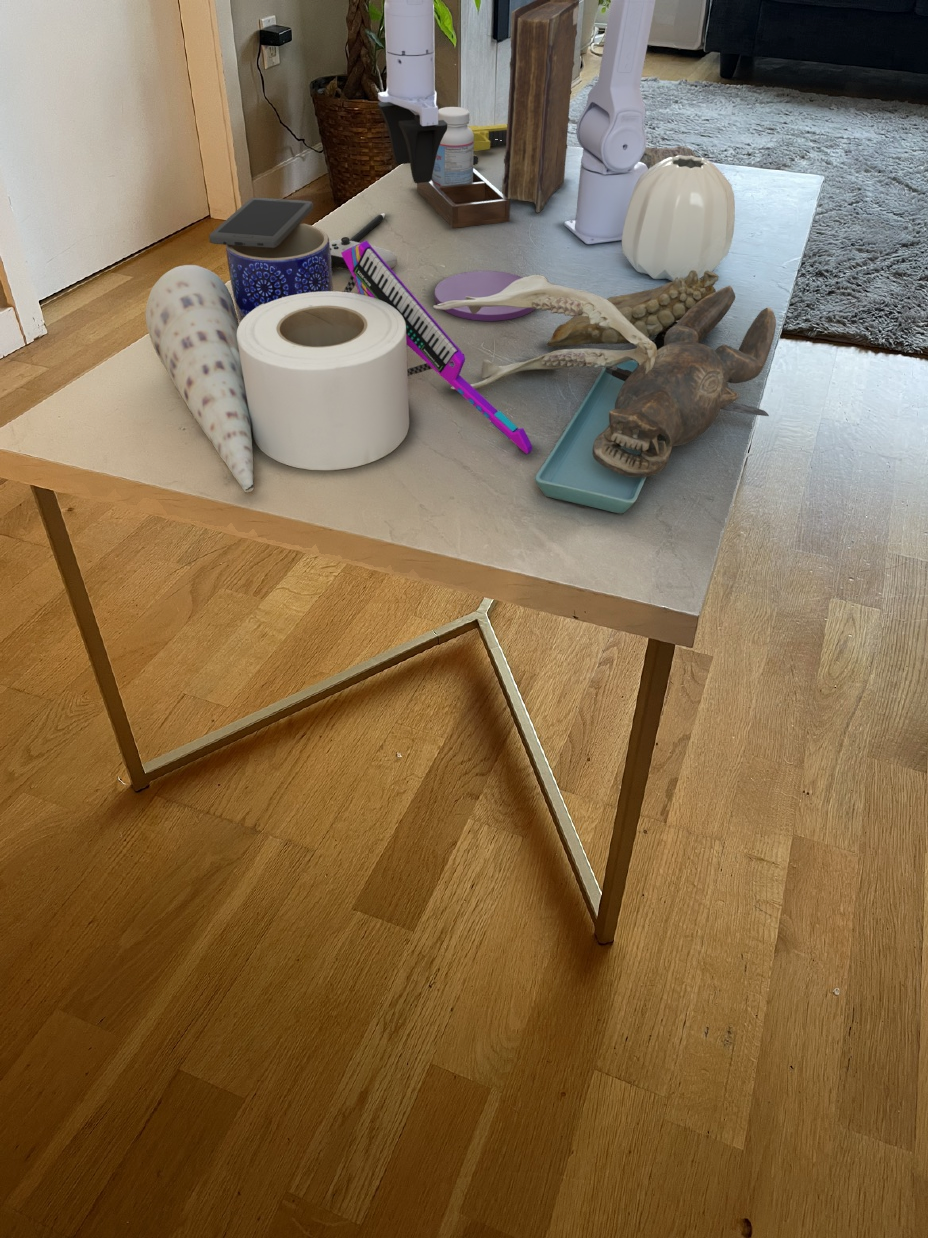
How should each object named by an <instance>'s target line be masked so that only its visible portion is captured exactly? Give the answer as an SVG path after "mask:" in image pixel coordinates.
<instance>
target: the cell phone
mask: <svg viewBox="0 0 928 1238" xmlns="http://www.w3.org/2000/svg"><path fill="white" fill-rule="evenodd" d="M313 204H314V203H313V202H312V201H310V200H300V199H299V200H298V199H284V198H269V197H252V198H249V199H248V200H247V201H246V202H245V203H243V204H242V205H241V206H240V207H239V208H238V209H236V211H234V212H233V214H231V215H230V216H229V217H227V218H226V220H224V221H223V222H222V223H221V224H220V225H219V226H217V227H216V228H215V229H214V230H213V231H211V233H210V234H208V239H209V243H210V244H213V245H223V246H224V245H225V246H226V245H236V246H249V247H262V248H276V247H277V246H279V245H280V243H281V242H282V241H283V240H284V239H285V238H286V237H287V236H288V235H289V234H290V233H291V232H292V231H293V230H294V229H295V228H296V227H297V226H298V225H299V224H300V223H302V222H303V221H304V220H305V219H306V217H308V215H310V213H312V211H313V209H314V205H313Z"/></svg>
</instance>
